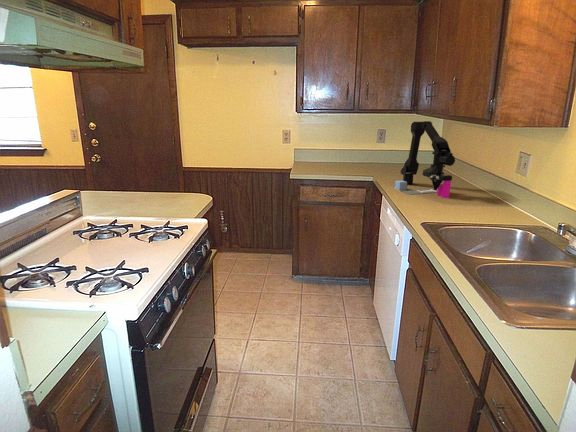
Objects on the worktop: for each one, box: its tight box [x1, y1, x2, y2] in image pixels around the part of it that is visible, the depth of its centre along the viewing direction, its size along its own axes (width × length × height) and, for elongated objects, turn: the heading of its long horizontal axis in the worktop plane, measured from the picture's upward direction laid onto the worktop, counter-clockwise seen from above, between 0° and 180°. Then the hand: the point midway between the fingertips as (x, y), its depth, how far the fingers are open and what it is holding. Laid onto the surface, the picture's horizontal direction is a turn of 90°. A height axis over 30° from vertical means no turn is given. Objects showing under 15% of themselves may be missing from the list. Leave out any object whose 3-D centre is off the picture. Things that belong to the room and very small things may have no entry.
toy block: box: [436, 180, 452, 199], centre depth 223 cm, size 15×6×8 cm, turn 157°
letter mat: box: [400, 188, 438, 195], centre depth 231 cm, size 9×23×1 cm, turn 108°
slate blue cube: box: [394, 179, 408, 191], centre depth 236 cm, size 5×5×5 cm
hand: (435, 190), depth 225 cm, fingers closed
